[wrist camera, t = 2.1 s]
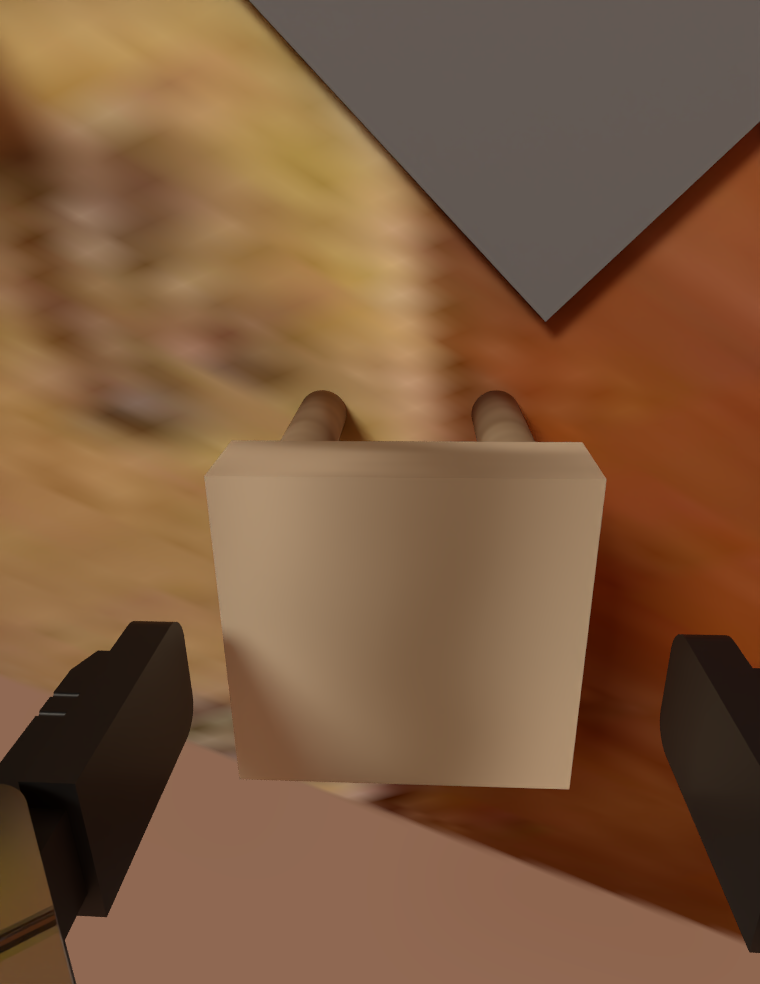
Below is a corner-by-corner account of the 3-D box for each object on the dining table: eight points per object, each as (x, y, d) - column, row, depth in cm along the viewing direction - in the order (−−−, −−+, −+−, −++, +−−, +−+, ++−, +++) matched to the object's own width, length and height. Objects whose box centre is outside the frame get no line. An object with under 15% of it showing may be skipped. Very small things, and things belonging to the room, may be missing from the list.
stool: (296, 594, 20) (239, 778, 14) (282, 374, 18) (204, 475, 11) (521, 597, 20) (569, 789, 14) (538, 374, 18) (606, 479, 11)
